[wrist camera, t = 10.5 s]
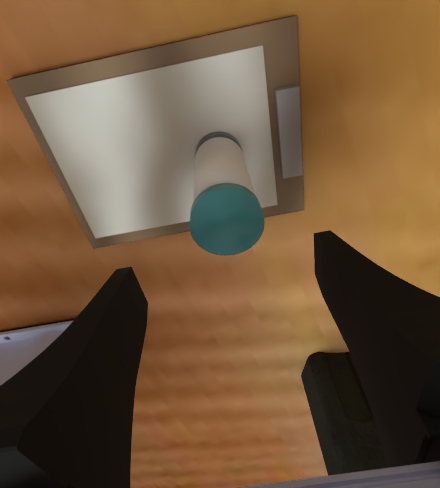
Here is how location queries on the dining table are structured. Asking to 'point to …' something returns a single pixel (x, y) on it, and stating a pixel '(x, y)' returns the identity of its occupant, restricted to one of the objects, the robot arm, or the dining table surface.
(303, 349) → the dining table surface
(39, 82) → the clipboard
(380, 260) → the dining table surface
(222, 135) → the marker
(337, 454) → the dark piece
